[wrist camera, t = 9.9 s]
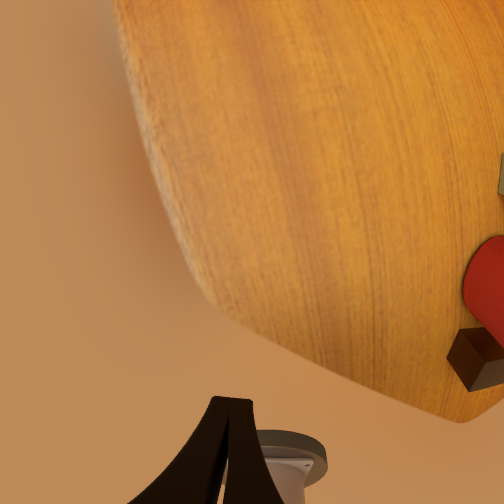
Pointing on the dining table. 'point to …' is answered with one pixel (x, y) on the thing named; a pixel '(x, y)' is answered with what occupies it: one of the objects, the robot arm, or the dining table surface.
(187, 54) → the dining table surface
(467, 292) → the beer can
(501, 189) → the ceramic block
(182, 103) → the dining table surface
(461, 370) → the walnut block
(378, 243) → the dining table surface
